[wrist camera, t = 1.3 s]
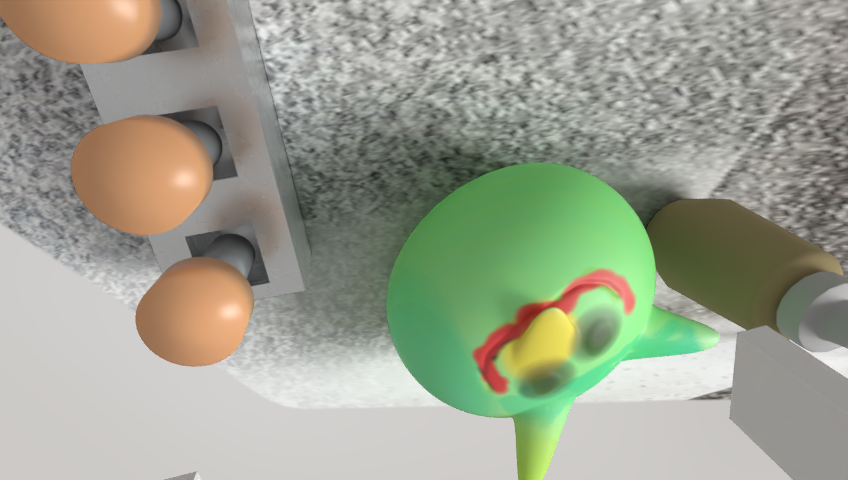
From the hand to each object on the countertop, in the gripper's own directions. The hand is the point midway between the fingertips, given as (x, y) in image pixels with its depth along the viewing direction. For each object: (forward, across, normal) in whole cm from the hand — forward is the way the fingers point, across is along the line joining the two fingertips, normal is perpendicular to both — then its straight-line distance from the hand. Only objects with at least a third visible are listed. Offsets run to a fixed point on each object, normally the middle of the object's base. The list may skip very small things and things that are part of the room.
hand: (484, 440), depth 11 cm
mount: (+25, -11, +6) cm, 28 cm away
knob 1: (+20, -11, +13) cm, 26 cm away
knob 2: (+19, -11, -1) cm, 22 cm away
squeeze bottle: (+26, +22, -10) cm, 35 cm away
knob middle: (+19, -11, +6) cm, 23 cm away
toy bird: (+26, +6, -8) cm, 28 cm away
